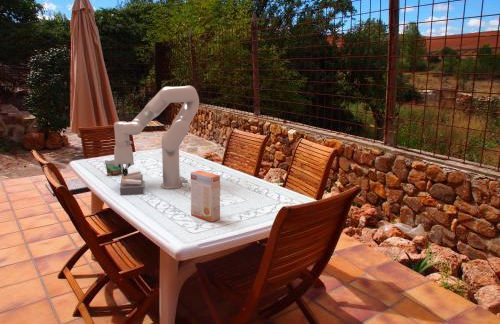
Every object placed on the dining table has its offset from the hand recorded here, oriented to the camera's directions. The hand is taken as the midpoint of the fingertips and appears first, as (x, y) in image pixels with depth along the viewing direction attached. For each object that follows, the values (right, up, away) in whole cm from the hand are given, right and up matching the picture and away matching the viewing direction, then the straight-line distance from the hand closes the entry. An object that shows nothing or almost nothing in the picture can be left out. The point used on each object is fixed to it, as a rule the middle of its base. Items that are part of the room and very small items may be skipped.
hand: (125, 175), depth 225 cm
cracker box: (+50, -18, -42) cm, 68 cm away
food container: (-15, -1, +30) cm, 34 cm away
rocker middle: (+3, -1, +1) cm, 4 cm away
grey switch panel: (+3, -7, +4) cm, 8 cm away
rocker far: (+1, +1, +10) cm, 10 cm away
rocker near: (+6, -3, -7) cm, 10 cm away
